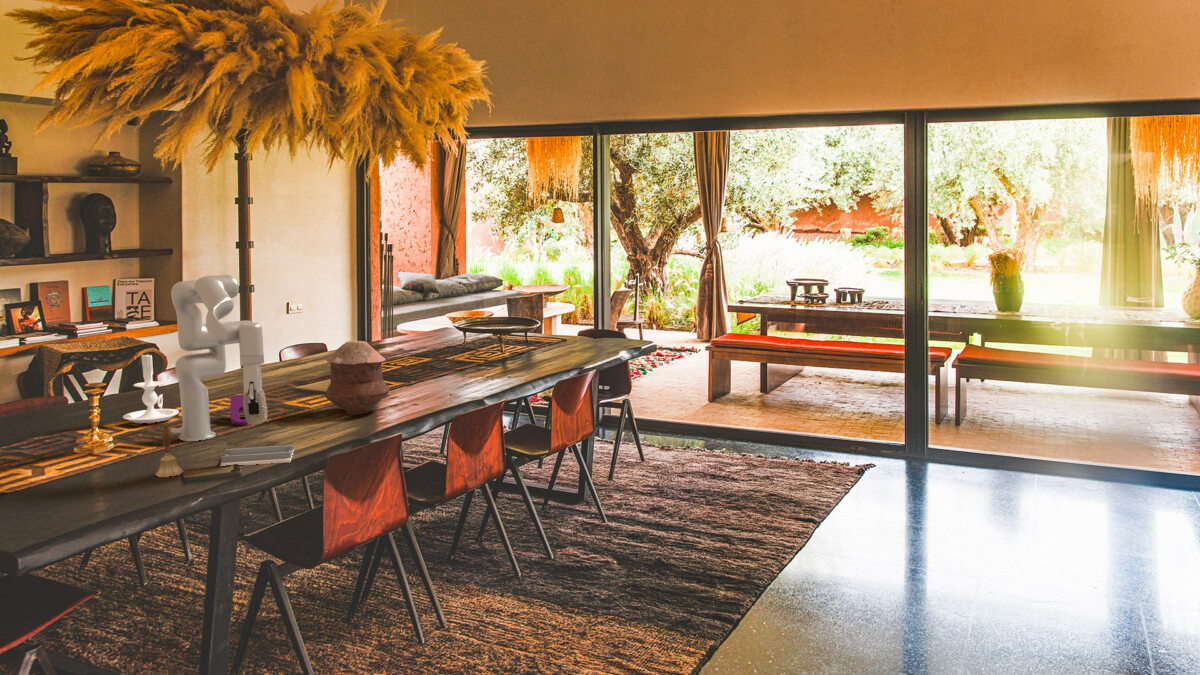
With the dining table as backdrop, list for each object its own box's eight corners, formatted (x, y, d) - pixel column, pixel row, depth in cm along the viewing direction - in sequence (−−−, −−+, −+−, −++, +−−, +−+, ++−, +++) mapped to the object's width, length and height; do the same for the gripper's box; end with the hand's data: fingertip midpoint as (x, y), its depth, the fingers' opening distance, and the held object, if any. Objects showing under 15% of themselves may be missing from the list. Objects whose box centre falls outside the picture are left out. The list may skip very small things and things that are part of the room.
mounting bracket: (256, 437, 375) (256, 410, 389) (255, 420, 371) (255, 394, 385) (231, 439, 372) (232, 412, 386) (230, 422, 368) (230, 395, 382)
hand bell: (149, 476, 300) (145, 427, 298) (169, 469, 307) (166, 422, 305) (169, 478, 297) (165, 429, 295) (189, 471, 304) (185, 423, 302)
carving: (243, 422, 318) (241, 388, 317) (267, 420, 321) (265, 386, 320) (244, 426, 313) (242, 391, 311) (268, 424, 316) (266, 389, 314)
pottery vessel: (315, 417, 382) (311, 345, 378) (342, 405, 407) (339, 336, 403) (375, 419, 378) (371, 346, 374) (398, 406, 403) (396, 337, 399)
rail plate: (220, 467, 309) (220, 458, 309) (227, 456, 323) (226, 448, 323) (290, 462, 314) (289, 453, 314) (293, 451, 328) (293, 443, 328)
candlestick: (189, 413, 394) (184, 347, 390) (170, 426, 370) (165, 356, 366) (137, 415, 391) (132, 349, 388) (115, 428, 367) (109, 358, 363)
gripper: (243, 356, 321) (247, 407, 324) (236, 364, 305) (240, 418, 307) (266, 355, 323) (269, 406, 326) (260, 363, 307) (264, 416, 309)
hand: (255, 411), depth 316 cm, fingers closed on carving, 6 cm apart
